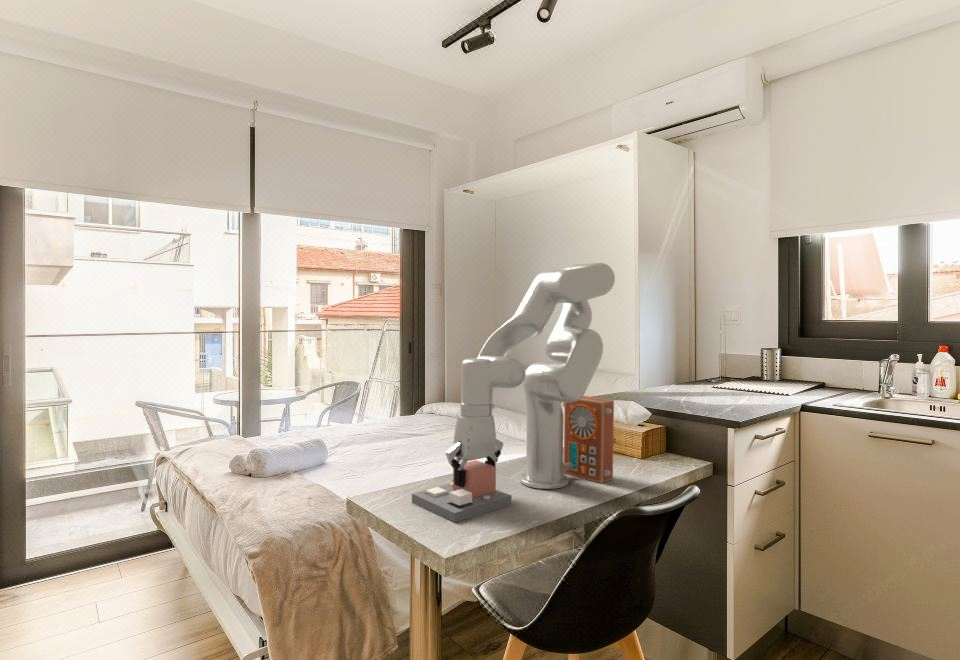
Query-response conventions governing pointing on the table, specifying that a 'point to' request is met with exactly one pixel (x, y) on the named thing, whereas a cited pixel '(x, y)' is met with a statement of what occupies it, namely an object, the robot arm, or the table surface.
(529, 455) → the robot arm
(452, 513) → the board
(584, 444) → the control panel
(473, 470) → the cap
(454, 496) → the block
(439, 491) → the block
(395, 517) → the table surface
